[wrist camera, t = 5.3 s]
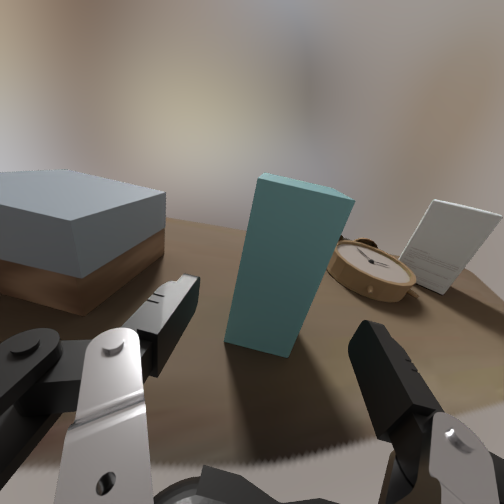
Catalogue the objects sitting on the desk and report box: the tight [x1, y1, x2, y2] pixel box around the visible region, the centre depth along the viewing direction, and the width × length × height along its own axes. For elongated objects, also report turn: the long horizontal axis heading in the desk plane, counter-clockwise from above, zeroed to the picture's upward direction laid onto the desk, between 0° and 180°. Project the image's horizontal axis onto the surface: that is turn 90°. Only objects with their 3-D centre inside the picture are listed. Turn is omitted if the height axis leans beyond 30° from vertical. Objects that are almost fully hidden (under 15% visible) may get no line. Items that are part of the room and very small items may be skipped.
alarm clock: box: [327, 235, 419, 302], centre depth 31 cm, size 11×5×15 cm
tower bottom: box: [0, 228, 165, 316], centre depth 19 cm, size 11×11×4 cm
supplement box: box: [398, 199, 503, 295], centre depth 32 cm, size 7×7×13 cm
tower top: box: [0, 169, 166, 278], centre depth 17 cm, size 11×11×4 cm
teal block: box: [224, 173, 355, 358], centre depth 15 cm, size 5×5×12 cm
